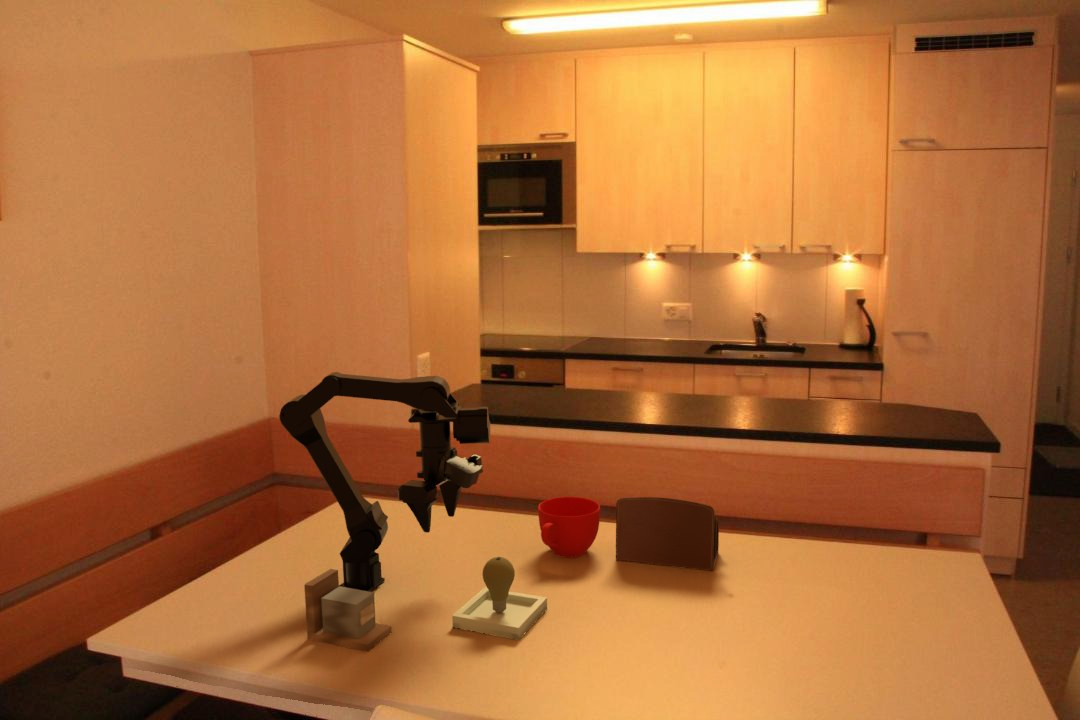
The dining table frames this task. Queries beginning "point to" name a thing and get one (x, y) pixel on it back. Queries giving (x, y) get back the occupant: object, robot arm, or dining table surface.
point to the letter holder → (666, 532)
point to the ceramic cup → (569, 525)
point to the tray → (500, 614)
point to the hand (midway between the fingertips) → (439, 524)
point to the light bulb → (498, 581)
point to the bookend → (341, 614)
